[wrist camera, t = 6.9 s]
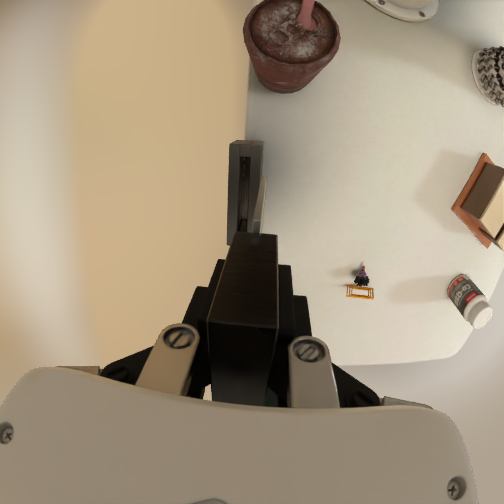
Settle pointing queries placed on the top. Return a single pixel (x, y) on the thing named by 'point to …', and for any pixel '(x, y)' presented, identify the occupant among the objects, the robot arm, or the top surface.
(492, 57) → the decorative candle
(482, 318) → the pill bottle
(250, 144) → the knife block
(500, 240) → the slice
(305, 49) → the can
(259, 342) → the knife
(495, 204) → the slotted block stand
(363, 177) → the top surface
